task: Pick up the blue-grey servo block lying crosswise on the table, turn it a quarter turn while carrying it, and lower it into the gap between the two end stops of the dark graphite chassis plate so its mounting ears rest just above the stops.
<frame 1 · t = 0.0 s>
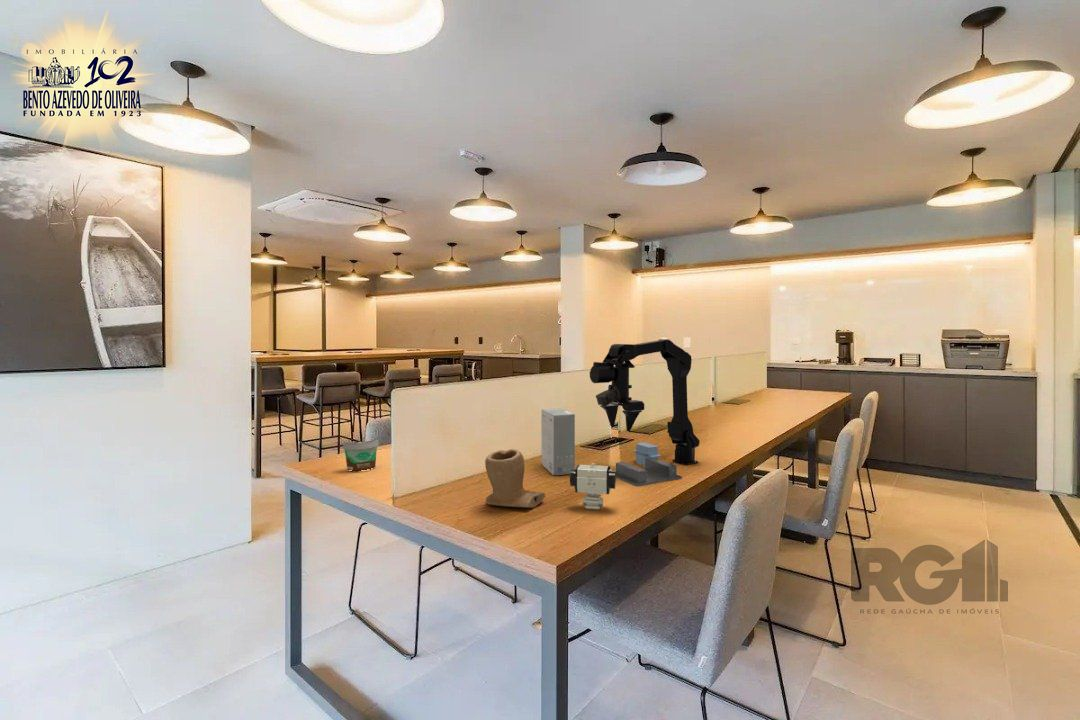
hand: (620, 428, 165), 15 cm above the table, tool pointing down, fingers open, 9 cm apart
servo block: (646, 464, 176), on the table
pneumatic valve: (592, 509, 132), on the table
hard drive box: (557, 470, 170), on the table
chassis: (645, 476, 161), on the table
food container: (364, 470, 171), on the table
brown hollow cup shape: (512, 506, 135), on the table
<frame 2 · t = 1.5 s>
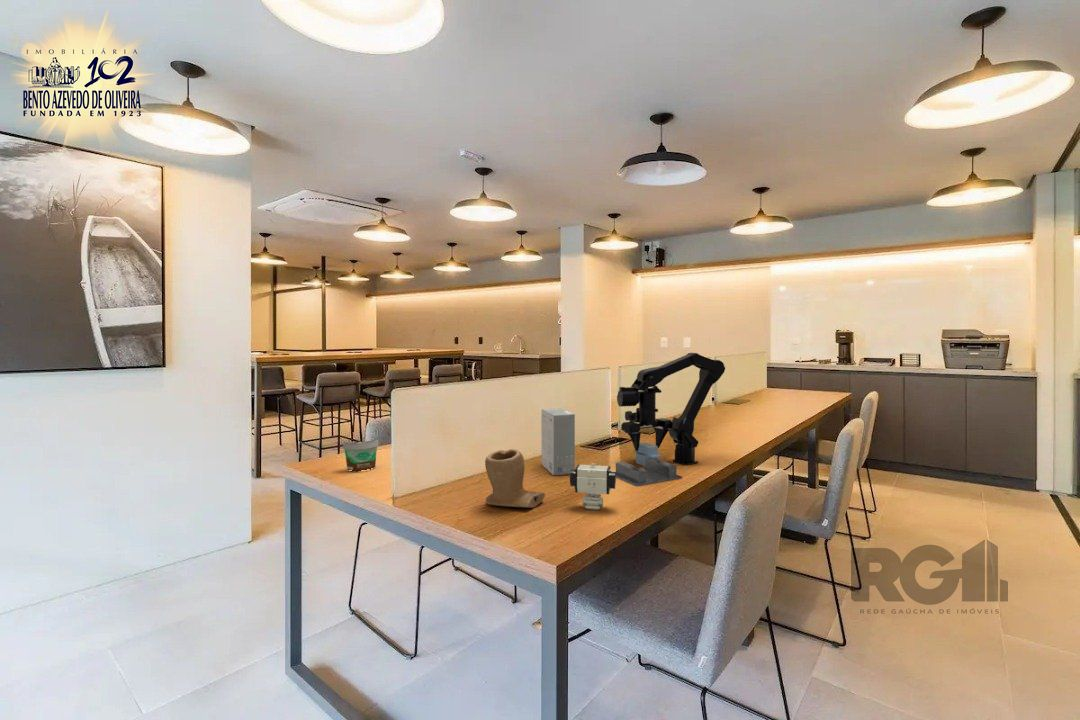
hand: (647, 449, 176), 5 cm above the table, tool pointing down, fingers open, 9 cm apart
nothing on the table moved.
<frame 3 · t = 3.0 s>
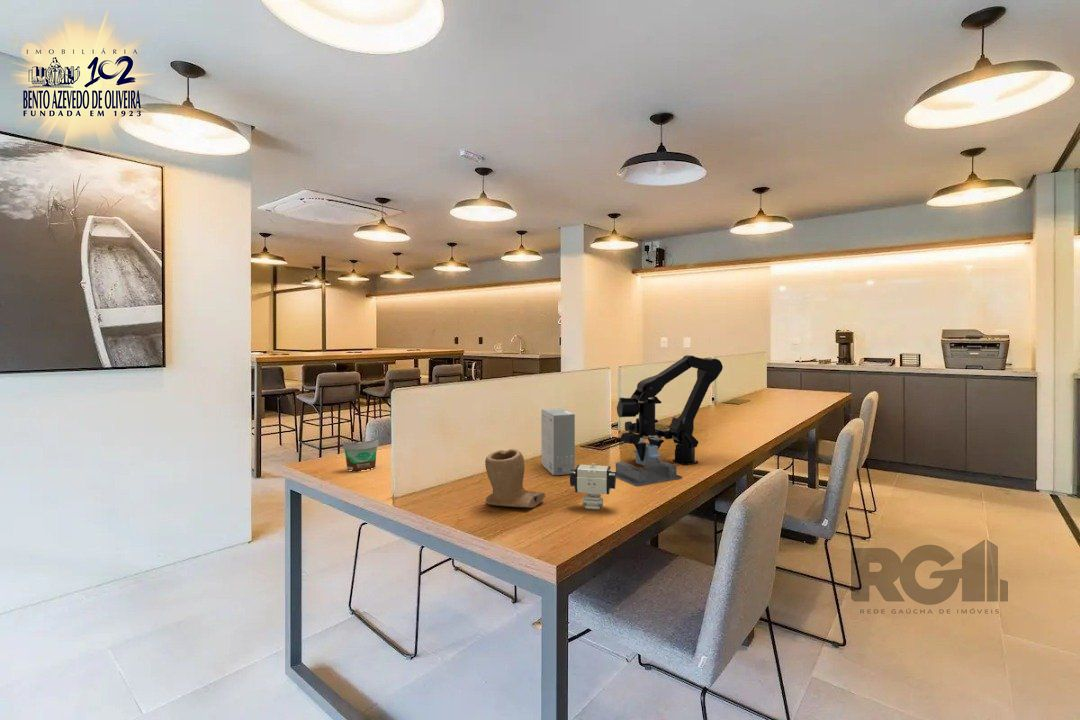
hand: (646, 460, 176), 2 cm above the table, tool pointing down, fingers closed on servo block, 4 cm apart
servo block: (646, 464, 176), on the table, touching gripper
everything else where it was.
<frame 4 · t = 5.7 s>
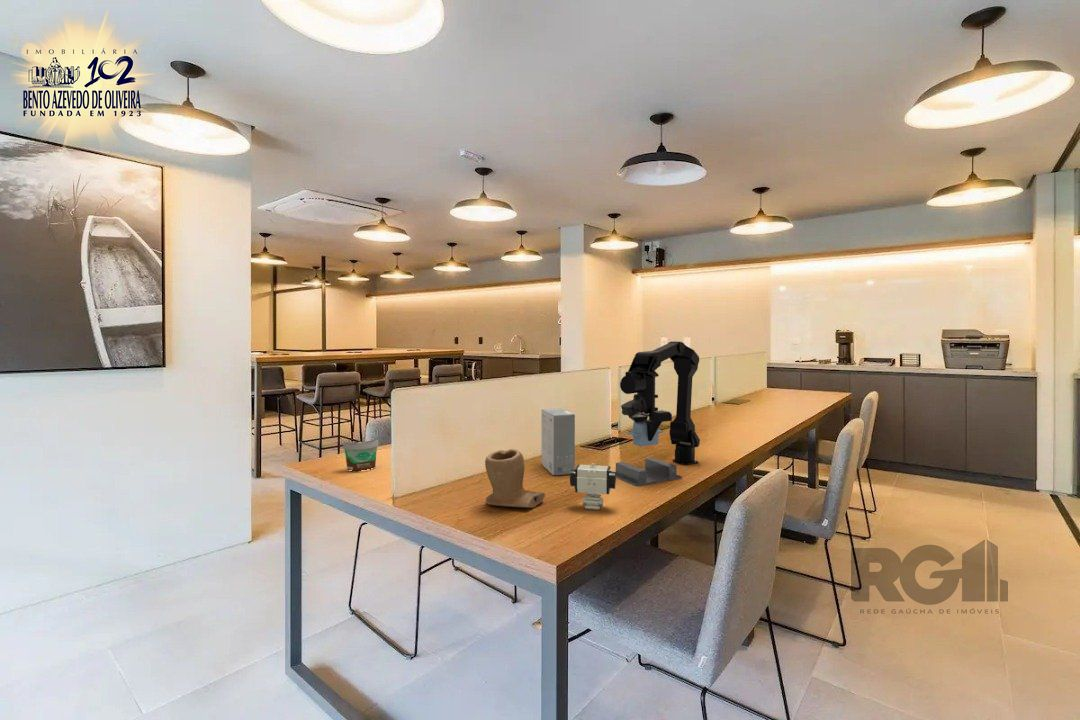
hand: (645, 439, 160), 12 cm above the table, tool pointing down, fingers closed on servo block, 4 cm apart
servo block: (645, 444, 161), point 11 cm above the table, touching gripper
everything else where it was.
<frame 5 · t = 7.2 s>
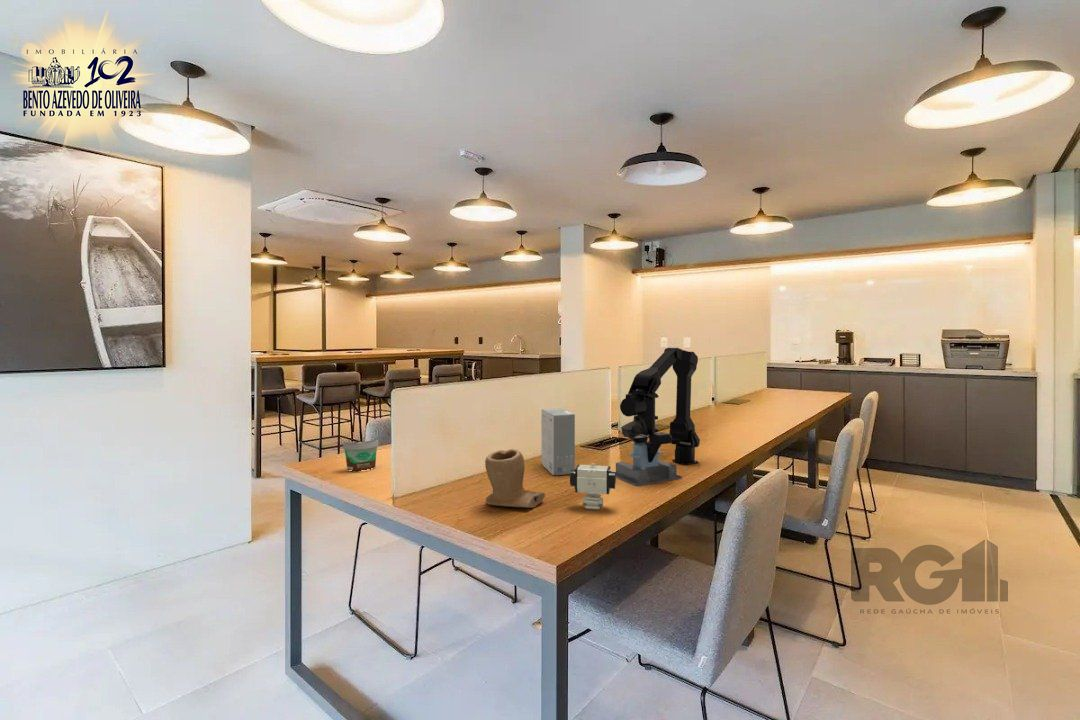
hand: (645, 460, 161), 5 cm above the table, tool pointing down, fingers closed on servo block, 4 cm apart
servo block: (645, 465, 161), point 4 cm above the table, touching gripper
everything else where it was.
when the fingers open (4 cm above the table, at t = 8.4 s): servo block drops 1 cm, resting on chassis.
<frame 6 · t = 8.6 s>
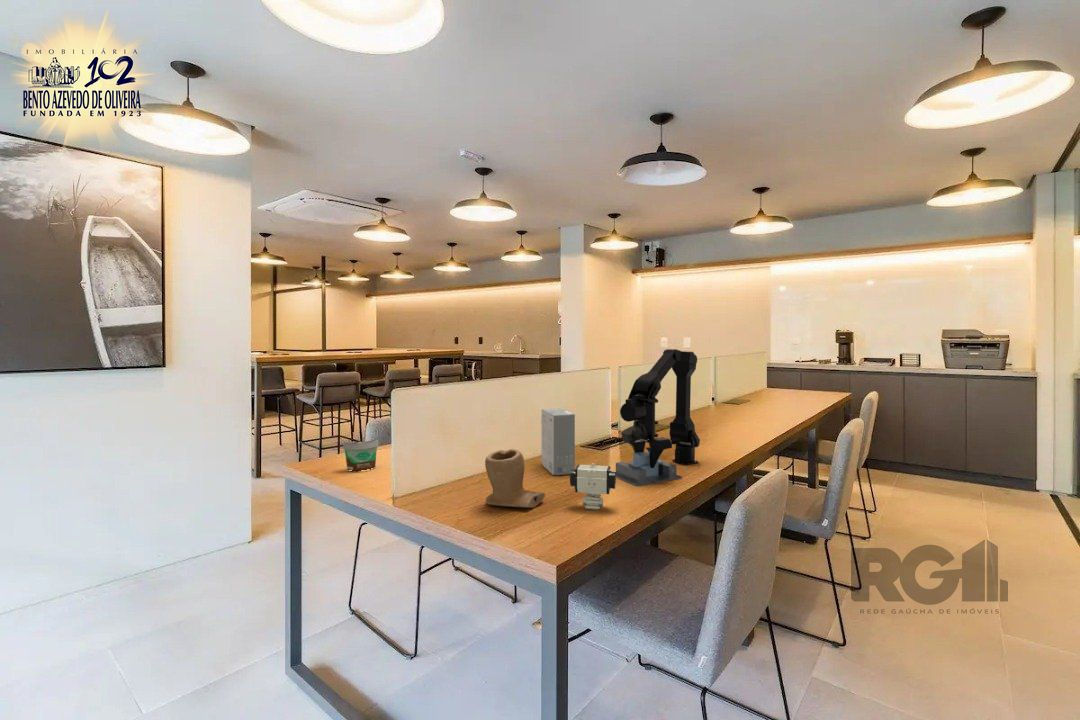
hand: (645, 465, 161), 4 cm above the table, tool pointing down, fingers open, 6 cm apart
servo block: (645, 474, 161), point 1 cm above the table, touching chassis
everything else where it was.
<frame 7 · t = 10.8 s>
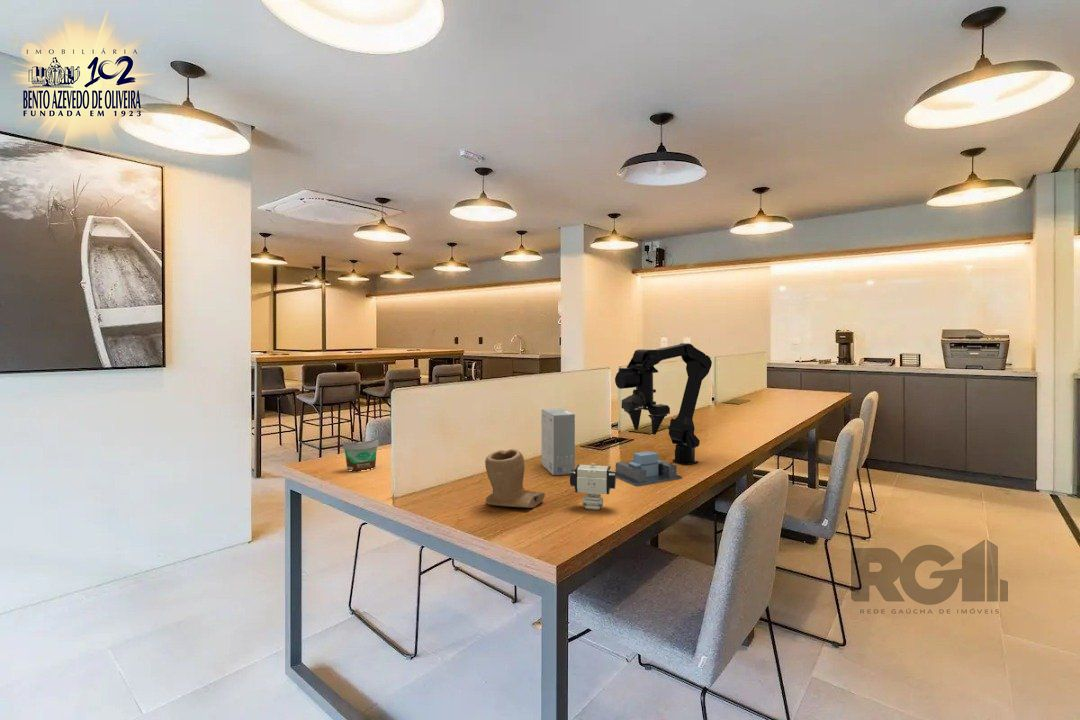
hand: (645, 432, 170), 13 cm above the table, tool pointing down, fingers open, 9 cm apart
nothing on the table moved.
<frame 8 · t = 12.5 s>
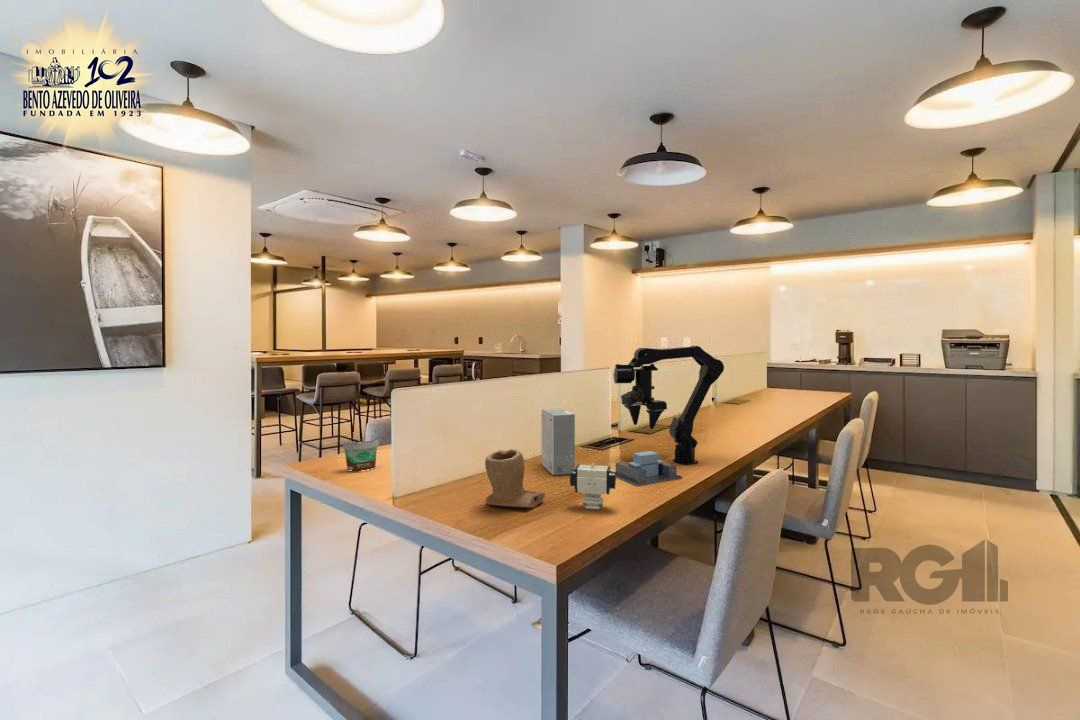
hand: (643, 426, 177), 13 cm above the table, tool pointing down, fingers open, 9 cm apart
nothing on the table moved.
at the end: servo block 0.0 cm off-centre on the chassis, point 0.6 cm above the chassis's base; servo block tilted 0°; the gripper is holding nothing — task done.
